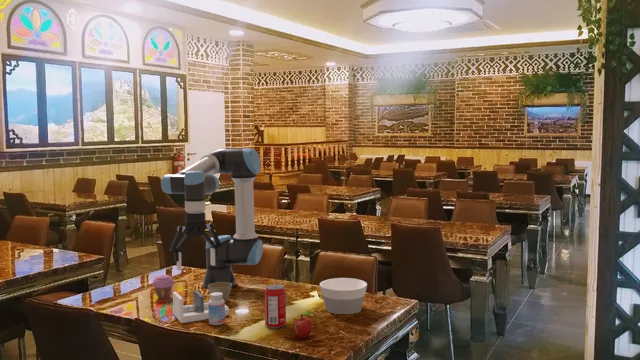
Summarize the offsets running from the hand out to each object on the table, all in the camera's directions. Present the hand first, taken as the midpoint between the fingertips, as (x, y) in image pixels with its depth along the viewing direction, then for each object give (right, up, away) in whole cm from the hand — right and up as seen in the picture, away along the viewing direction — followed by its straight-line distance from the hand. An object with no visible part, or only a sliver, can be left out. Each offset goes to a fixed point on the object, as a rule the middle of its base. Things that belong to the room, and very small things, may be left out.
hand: (196, 267), depth 219 cm
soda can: (+31, -21, -5) cm, 38 cm away
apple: (+42, -22, -18) cm, 50 cm away
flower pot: (+4, -19, +27) cm, 33 cm away
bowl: (+57, -19, +14) cm, 61 cm away
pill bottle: (+8, -21, -1) cm, 23 cm away
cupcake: (-22, -18, +34) cm, 44 cm away
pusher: (-3, -19, +8) cm, 21 cm away
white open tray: (0, -20, +9) cm, 22 cm away
